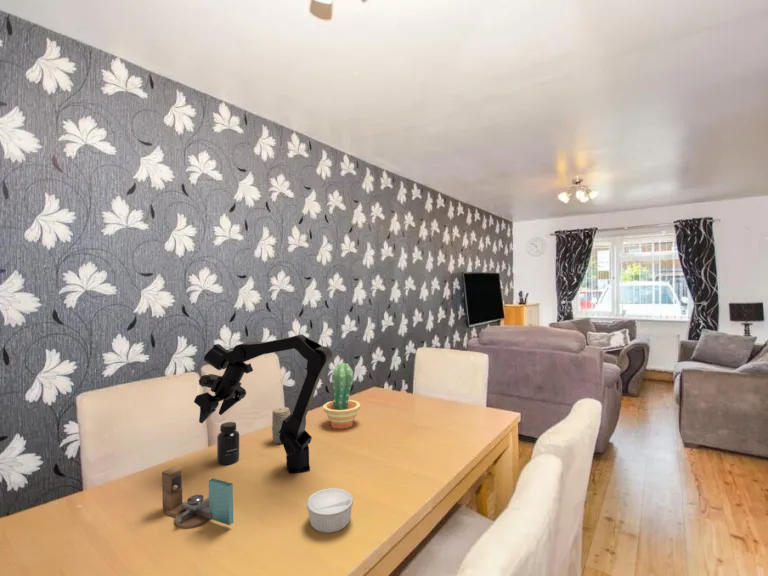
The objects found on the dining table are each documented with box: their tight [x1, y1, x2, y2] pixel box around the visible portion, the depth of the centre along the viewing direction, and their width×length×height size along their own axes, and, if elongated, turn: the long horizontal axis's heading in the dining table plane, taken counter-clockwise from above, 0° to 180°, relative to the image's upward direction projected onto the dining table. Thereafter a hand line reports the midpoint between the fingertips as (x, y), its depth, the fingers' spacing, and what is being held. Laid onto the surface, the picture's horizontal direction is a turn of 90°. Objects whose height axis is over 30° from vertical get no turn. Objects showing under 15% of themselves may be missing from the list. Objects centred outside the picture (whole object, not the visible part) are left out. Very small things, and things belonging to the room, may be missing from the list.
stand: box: [161, 466, 212, 529], centre depth 97 cm, size 9×15×10 cm, turn 65°
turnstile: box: [178, 477, 234, 526], centre depth 94 cm, size 9×16×9 cm, turn 65°
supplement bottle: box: [216, 421, 240, 466], centre depth 126 cm, size 7×7×12 cm
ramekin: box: [306, 487, 354, 534], centre depth 93 cm, size 11×11×5 cm
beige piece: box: [271, 406, 291, 445], centre depth 141 cm, size 6×8×12 cm
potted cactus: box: [322, 362, 361, 430], centre depth 157 cm, size 15×15×25 cm
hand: (210, 418), depth 125 cm, fingers open, 9 cm apart
